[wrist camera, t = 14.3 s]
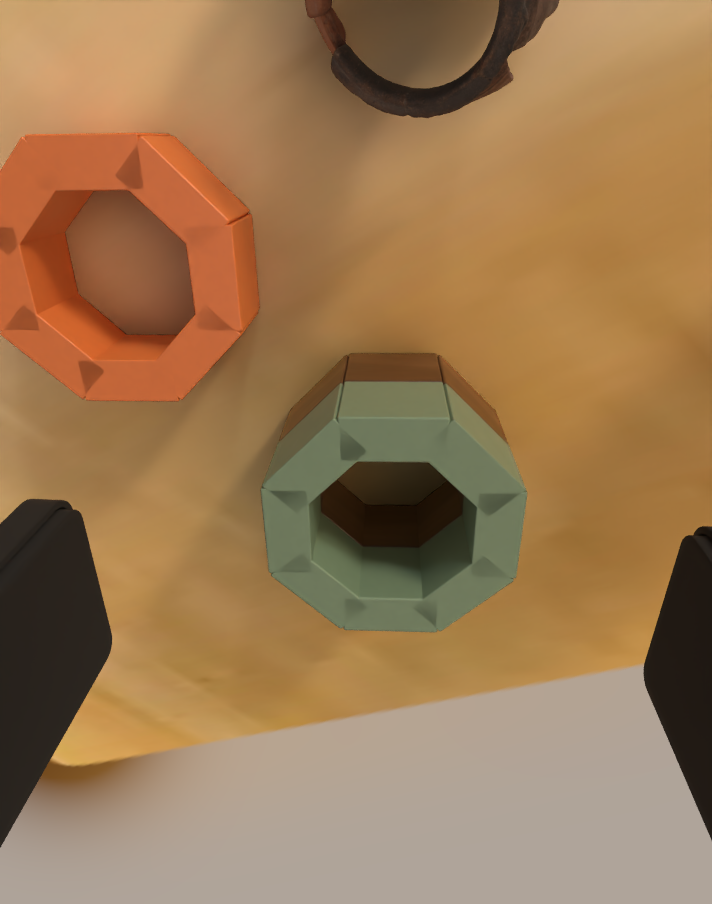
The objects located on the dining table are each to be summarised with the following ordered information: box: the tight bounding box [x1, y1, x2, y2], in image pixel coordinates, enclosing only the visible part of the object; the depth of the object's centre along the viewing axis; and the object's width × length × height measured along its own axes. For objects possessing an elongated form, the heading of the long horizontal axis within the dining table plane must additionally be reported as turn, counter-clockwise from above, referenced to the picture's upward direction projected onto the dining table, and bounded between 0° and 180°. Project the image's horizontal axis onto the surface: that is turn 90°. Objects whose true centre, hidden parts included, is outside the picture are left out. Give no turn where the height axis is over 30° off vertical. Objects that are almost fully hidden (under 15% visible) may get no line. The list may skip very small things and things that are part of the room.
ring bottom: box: [278, 354, 508, 548], centre depth 31 cm, size 11×11×4 cm
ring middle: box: [261, 382, 527, 632], centre depth 28 cm, size 11×11×4 cm
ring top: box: [0, 133, 260, 401], centre depth 28 cm, size 11×11×4 cm
